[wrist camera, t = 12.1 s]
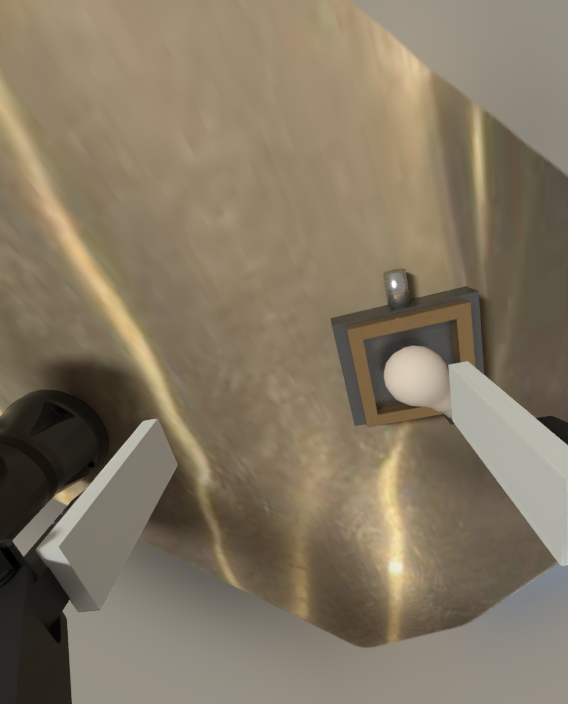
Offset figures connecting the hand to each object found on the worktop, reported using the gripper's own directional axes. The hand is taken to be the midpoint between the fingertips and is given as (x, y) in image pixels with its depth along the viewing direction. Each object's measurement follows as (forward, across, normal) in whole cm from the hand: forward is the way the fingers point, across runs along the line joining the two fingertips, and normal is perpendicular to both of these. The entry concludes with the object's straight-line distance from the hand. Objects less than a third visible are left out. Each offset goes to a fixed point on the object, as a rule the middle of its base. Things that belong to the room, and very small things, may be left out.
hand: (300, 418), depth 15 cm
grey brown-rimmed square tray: (+27, +11, -10) cm, 31 cm away
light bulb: (+23, +12, -12) cm, 29 cm away
